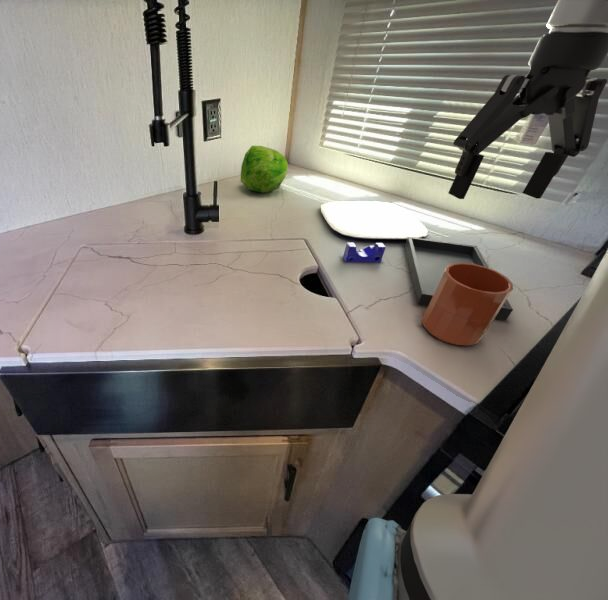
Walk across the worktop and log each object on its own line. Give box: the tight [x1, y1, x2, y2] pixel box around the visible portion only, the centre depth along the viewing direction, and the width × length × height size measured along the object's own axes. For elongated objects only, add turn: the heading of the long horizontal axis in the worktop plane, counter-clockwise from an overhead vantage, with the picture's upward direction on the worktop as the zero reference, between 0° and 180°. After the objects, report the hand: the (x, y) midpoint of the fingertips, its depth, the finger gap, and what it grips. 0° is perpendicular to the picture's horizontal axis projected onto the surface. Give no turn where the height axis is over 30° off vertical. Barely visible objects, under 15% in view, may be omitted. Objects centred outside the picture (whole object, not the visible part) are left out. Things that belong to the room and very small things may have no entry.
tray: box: [404, 237, 514, 322], centre depth 74 cm, size 26×15×3 cm, turn 161°
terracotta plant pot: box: [421, 263, 514, 346], centre depth 58 cm, size 9×9×11 cm
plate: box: [319, 200, 429, 241], centre depth 97 cm, size 25×25×2 cm
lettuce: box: [240, 145, 289, 194], centre depth 116 cm, size 15×20×14 cm
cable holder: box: [342, 242, 386, 264], centre depth 80 cm, size 8×4×4 cm, turn 89°
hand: (493, 196), depth 57 cm, fingers open, 13 cm apart
